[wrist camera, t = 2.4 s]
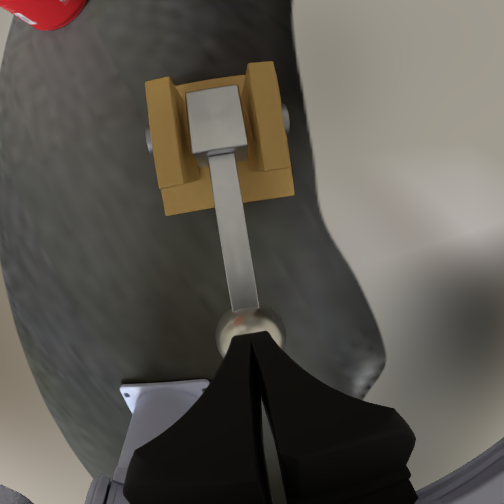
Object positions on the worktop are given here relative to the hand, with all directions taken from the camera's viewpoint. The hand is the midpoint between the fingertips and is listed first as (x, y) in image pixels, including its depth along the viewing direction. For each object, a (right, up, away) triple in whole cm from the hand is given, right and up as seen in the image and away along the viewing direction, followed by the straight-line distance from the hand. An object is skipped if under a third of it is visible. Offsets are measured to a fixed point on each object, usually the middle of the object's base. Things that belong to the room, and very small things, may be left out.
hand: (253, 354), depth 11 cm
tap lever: (-1, +5, +3) cm, 6 cm away
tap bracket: (-2, +11, +7) cm, 13 cm away
